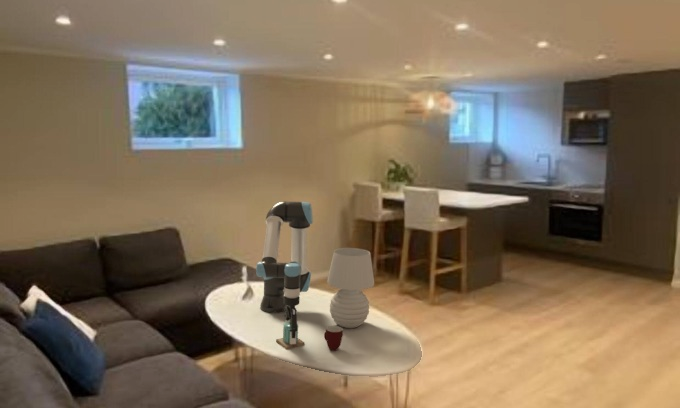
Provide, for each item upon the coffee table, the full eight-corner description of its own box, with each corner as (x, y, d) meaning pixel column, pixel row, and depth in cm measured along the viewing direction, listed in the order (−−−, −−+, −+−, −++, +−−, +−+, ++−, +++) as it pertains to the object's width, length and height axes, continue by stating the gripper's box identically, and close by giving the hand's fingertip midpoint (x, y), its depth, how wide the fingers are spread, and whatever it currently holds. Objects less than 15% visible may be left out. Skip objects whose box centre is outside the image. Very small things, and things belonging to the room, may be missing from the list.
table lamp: (378, 321, 284) (382, 250, 278) (361, 337, 261) (365, 260, 255) (337, 313, 294) (340, 244, 289) (317, 327, 271) (320, 253, 266)
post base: (293, 337, 256) (294, 324, 255) (304, 344, 248) (304, 331, 247) (276, 341, 250) (276, 328, 249) (286, 349, 242) (286, 335, 241)
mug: (317, 347, 246) (318, 327, 244) (328, 342, 252) (329, 323, 250) (334, 354, 239) (335, 333, 238) (345, 349, 245) (346, 329, 244)
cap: (292, 336, 254) (293, 321, 253) (300, 341, 248) (300, 326, 247) (280, 339, 250) (280, 324, 249) (287, 344, 244) (288, 328, 243)
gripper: (279, 288, 257) (278, 329, 260) (288, 304, 233) (287, 349, 236) (294, 287, 259) (293, 328, 262) (304, 304, 235) (303, 348, 238)
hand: (290, 338), depth 249 cm, fingers open, 13 cm apart
